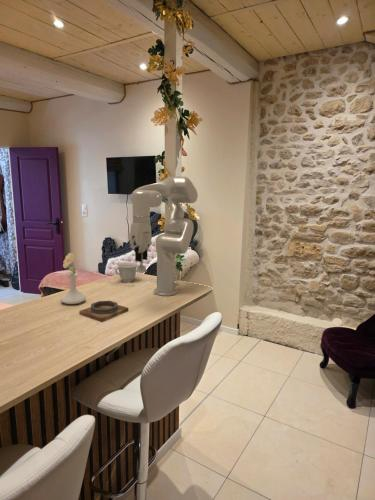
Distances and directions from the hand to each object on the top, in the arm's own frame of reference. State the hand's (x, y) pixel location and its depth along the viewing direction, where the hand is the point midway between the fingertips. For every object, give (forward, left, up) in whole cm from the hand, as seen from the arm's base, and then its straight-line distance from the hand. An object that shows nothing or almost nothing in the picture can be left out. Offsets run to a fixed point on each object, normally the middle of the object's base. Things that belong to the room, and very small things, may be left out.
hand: (141, 259), depth 150 cm
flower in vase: (+13, -31, -24) cm, 41 cm away
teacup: (-29, -37, -23) cm, 52 cm away
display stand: (+13, -10, -23) cm, 29 cm away
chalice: (0, 0, -5) cm, 5 cm away
